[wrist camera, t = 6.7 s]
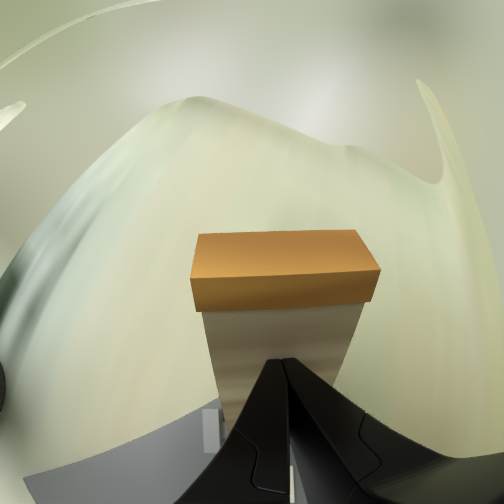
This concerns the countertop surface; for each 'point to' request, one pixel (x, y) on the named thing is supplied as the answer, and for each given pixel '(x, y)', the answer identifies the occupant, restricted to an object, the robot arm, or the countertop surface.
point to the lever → (278, 302)
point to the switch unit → (146, 466)
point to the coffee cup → (2, 387)
